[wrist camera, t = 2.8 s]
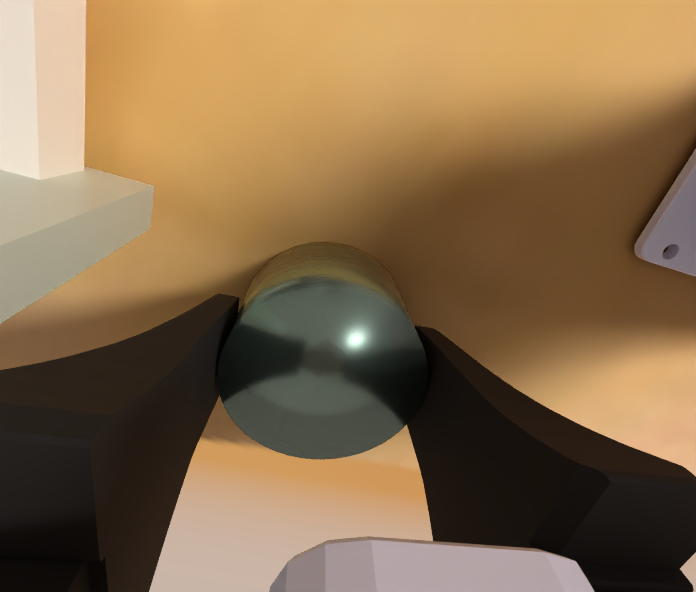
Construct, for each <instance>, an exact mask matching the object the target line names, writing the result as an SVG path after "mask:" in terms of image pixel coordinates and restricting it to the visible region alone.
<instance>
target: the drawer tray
mask: <svg viewBox="0 0 696 592" xmlns="http://www.w3.org/2000/svg"><path fill="white" fill-rule="evenodd" d="M85 53H86V0H0V324H1V323H2V322H4V321H6V320H7V319H9V318H10V317H12V316H13V315H15V314H17V313H18V312H20V311H21V310H23V309H24V308H26V307H28V306H29V305H31V304H32V303H34V302H35V301H37V300H39V299H40V298H42V297H43V296H45V295H47V294H48V293H50V292H51V291H53V290H54V289H56V288H58V287H59V286H61V285H62V284H64V283H65V282H67V281H69V280H70V279H72V278H73V277H75V276H77V275H78V274H80V273H81V272H83V271H84V270H86V269H88V268H89V267H91V266H92V265H94V264H95V263H97V262H99V261H100V260H102V259H103V258H105V257H107V256H108V255H110V254H111V253H113V252H114V251H116V250H118V249H119V248H121V247H122V246H124V245H125V244H127V243H129V242H130V241H132V240H133V239H135V238H136V237H138V236H140V235H141V234H143V233H144V232H146V231H148V230H149V229H151V218H152V207H153V195H154V185H150V184H147V183H143V182H140V181H136V180H132V179H129V178H125V177H122V176H118V175H114V174H111V173H107V172H104V171H100V170H96V169H93V168H89V167H86V166H84V132H85Z"/></svg>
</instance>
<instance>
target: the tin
mask: <svg viewBox="0 0 696 592" xmlns="http://www.w3.org/2000/svg"><path fill="white" fill-rule="evenodd" d="M217 379H218V388H219V393H220V397H221V399H222V402H223V404H224V407H225V409H226V410H227V412H228V414H229V416H230V417H231V418H232V420H233V421H234V422H235V423H236V425H237V426H238V427H239V428H240V429H241V430H242V431H243V432H244V433H245V434H247V435H248V436H249V437H251V438H252V439H253V440H255V441H256V442H258V443H260V444H262V445H263V446H265V447H267V448H269V449H272V450H274V451H276V452H279V453H283V454H286V455H289V456H294V457H299V458H307V459H335V458H342V457H348V456H352V455H355V454H359V453H362V452H365V451H367V450H370V449H372V448H374V447H376V446H378V445H380V444H382V443H384V442H385V441H387V440H388V439H390V438H392V437H393V436H394V435H395V434H397V433H398V432H399V431H400V430H401V429H402V428H403V427H404V426H405V425H406V424H407V423H408V422H409V421H410V420H411V418H412V417H413V416H414V414H415V413H416V411H417V410H418V408H419V406H420V404H421V402H422V400H423V397H424V395H425V391H426V387H427V382H428V363H427V358H426V354H425V350H424V348H423V345H422V343H421V341H420V338H419V336H418V334H417V332H416V329H415V327H414V325H413V323H412V320H411V318H410V316H409V314H408V312H407V309H406V307H405V305H404V303H403V300H402V298H401V296H400V294H399V292H398V289H397V287H396V285H395V283H394V281H393V279H392V278H391V276H390V274H389V273H388V272H387V271H386V269H385V268H384V267H383V266H382V265H381V264H380V263H379V262H377V261H376V260H375V259H374V258H372V257H371V256H369V255H368V254H366V253H364V252H362V251H360V250H358V249H356V248H353V247H350V246H347V245H343V244H338V243H330V242H317V243H309V244H303V245H300V246H296V247H293V248H290V249H288V250H286V251H284V252H282V253H280V254H279V255H277V256H276V257H274V258H272V259H271V260H270V261H269V262H268V263H267V264H265V265H264V266H263V268H262V269H261V270H260V271H259V272H258V273H257V275H256V276H255V278H254V279H253V281H252V283H251V285H250V287H249V289H248V292H247V294H246V296H245V299H244V301H243V303H242V306H241V308H240V310H239V313H238V315H237V317H236V319H235V322H234V324H233V326H232V329H231V331H230V333H229V336H228V338H227V340H226V343H225V345H224V347H223V350H222V352H221V356H220V359H219V363H218V372H217Z"/></svg>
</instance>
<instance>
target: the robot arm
mask: <svg viewBox="0 0 696 592" xmlns="http://www.w3.org/2000/svg"><path fill="white" fill-rule="evenodd" d="M667 246H669V247H668V249H667V251H666V252H665V253H664V254H662V253H663V251H664V249H665V248H666V247H667ZM634 252H635V254H636V256H637V257H639V258H641V259H643V260H645V261H647V262H651V263H654V264H657V265H660V266H663V267H667V268H670V269H673V270H676V271H679V272H683V273H686V274H689V275H692V276H695V277H696V149H695V150H694V152H693V154H692V155H691V157H690V158H689V160H688V161H687V163H686V165H685V166H684V168H683V169H682V171H681V172H680V174H679V175H678V177H677V179H676V180H675V182H674V183H673V185H672V186H671V188H670V190H669V191H668V193H667V194H666V196H665V197H664V199H663V201H662V202H661V204H660V205H659V207H658V208H657V210H656V211H655V213H654V215H653V216H652V218H651V219H650V221H649V222H648V224H647V226H646V227H645V229H644V230H643V232H642V233H641V235H640V237H639V238H638V240H637V242H636V244H635V246H634ZM238 306H239V297H235V296H229V295H222V294H217V295H215V296H213V297H212V298H210V299H208V300H206V301H205V302H203V303H201V304H199V305H198V306H196V307H194V308H192V309H191V310H189V311H187V312H185V313H183V314H182V315H180V316H178V317H176V318H174V319H172V320H170V321H168V322H165V323H163V324H161V325H159V326H157V327H155V328H153V329H151V330H149V331H146V332H144V333H141V334H139V335H136V336H134V337H131V338H128V339H126V340H123V341H120V342H117V343H114V344H111V345H108V346H105V347H101V348H98V349H94V350H90V351H87V352H83V353H80V354H76V355H73V356H69V357H65V358H60V359H56V360H51V361H47V362H42V363H37V364H32V365H27V366H22V367H16V368H10V369H4V370H0V592H149V590H150V586H151V583H152V580H153V576H154V573H155V570H156V566H157V563H158V560H159V557H160V554H161V550H162V547H163V544H164V541H165V537H166V534H167V531H168V528H169V525H170V521H171V518H172V515H173V512H174V509H175V506H176V503H177V500H178V497H179V494H180V491H181V488H182V485H183V482H184V479H185V476H186V473H187V470H188V466H189V464H190V461H191V458H192V456H193V453H194V451H195V448H196V445H197V443H198V441H199V439H200V437H201V434H202V432H203V430H204V428H205V426H206V423H207V421H208V419H209V417H210V415H211V412H212V410H213V408H214V406H215V404H216V401H217V399H218V397H219V395H220V393H219V388H218V379H217V372H218V363H219V359H220V356H221V352H222V350H223V347H224V345H225V343H226V340H227V338H228V336H229V333H230V331H231V329H232V326H233V324H234V322H235V319H236V317H237V315H238ZM415 329H416V332H417V334H418V336H419V338H420V341H421V343H422V345H423V348H424V350H425V354H426V358H427V363H428V382H427V387H426V391H425V395H424V397H423V400H422V402H421V404H420V406H419V408H418V410H417V411H416V413H415V414H414V416H413V417H412V418H411V420H410V421H409V422H408V423H407V426H408V429H409V433H410V436H411V439H412V443H413V446H414V450H415V453H416V456H417V460H418V463H419V467H420V470H421V475H422V478H423V483H424V488H425V494H426V499H427V505H428V511H429V516H430V523H431V529H432V535H433V541H423V540H409V539H394V538H381V537H358V538H347V539H337V540H328V541H325V542H323V543H322V544H319V545H317V546H315V547H313V548H311V549H309V550H307V551H304V552H302V553H300V554H298V555H296V556H294V557H293V558H292V559H291V560H290V561H288V562H287V564H286V565H285V567H284V568H283V569H282V571H281V572H280V574H279V575H278V576H277V578H276V579H275V581H274V582H273V584H272V585H271V587H270V591H269V592H693V585H692V584H691V583H690V582H689V580H688V579H687V578H686V576H685V575H684V574H683V573H682V571H681V570H680V568H681V566H683V565H684V564H685V563H686V561H687V560H688V559H689V558H690V557H691V556H692V555H693V554H694V553H695V552H696V477H695V476H694V475H693V474H692V473H691V472H690V471H688V470H687V469H686V468H684V467H682V466H680V465H678V464H675V463H672V462H670V461H667V460H664V459H661V458H659V457H656V456H653V455H651V454H648V453H645V452H643V451H640V450H637V449H635V448H632V447H629V446H627V445H624V444H622V443H620V442H617V441H615V440H613V439H610V438H608V437H606V436H604V435H601V434H599V433H597V432H594V431H592V430H590V429H588V428H586V427H584V426H582V425H579V424H577V423H575V422H573V421H571V420H570V419H568V418H566V417H564V416H562V415H560V414H558V413H556V412H554V411H552V410H550V409H548V408H547V407H545V406H543V405H541V404H540V403H538V402H536V401H534V400H533V399H531V398H530V397H528V396H526V395H525V394H523V393H521V392H520V391H518V390H516V389H515V388H513V387H512V386H510V385H509V384H507V383H506V382H504V381H503V380H502V379H500V378H499V377H497V376H496V375H495V374H493V373H492V372H490V371H489V370H488V369H486V368H485V367H484V366H482V365H481V364H480V363H478V362H477V361H476V360H475V359H473V358H472V357H471V356H469V355H468V354H467V353H466V352H464V351H463V350H462V349H461V348H459V347H458V346H457V345H456V344H454V343H453V342H452V341H450V340H449V339H448V338H447V337H445V336H444V335H442V334H441V333H440V332H438V331H436V330H435V329H433V328H427V327H421V326H415Z"/></svg>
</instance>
